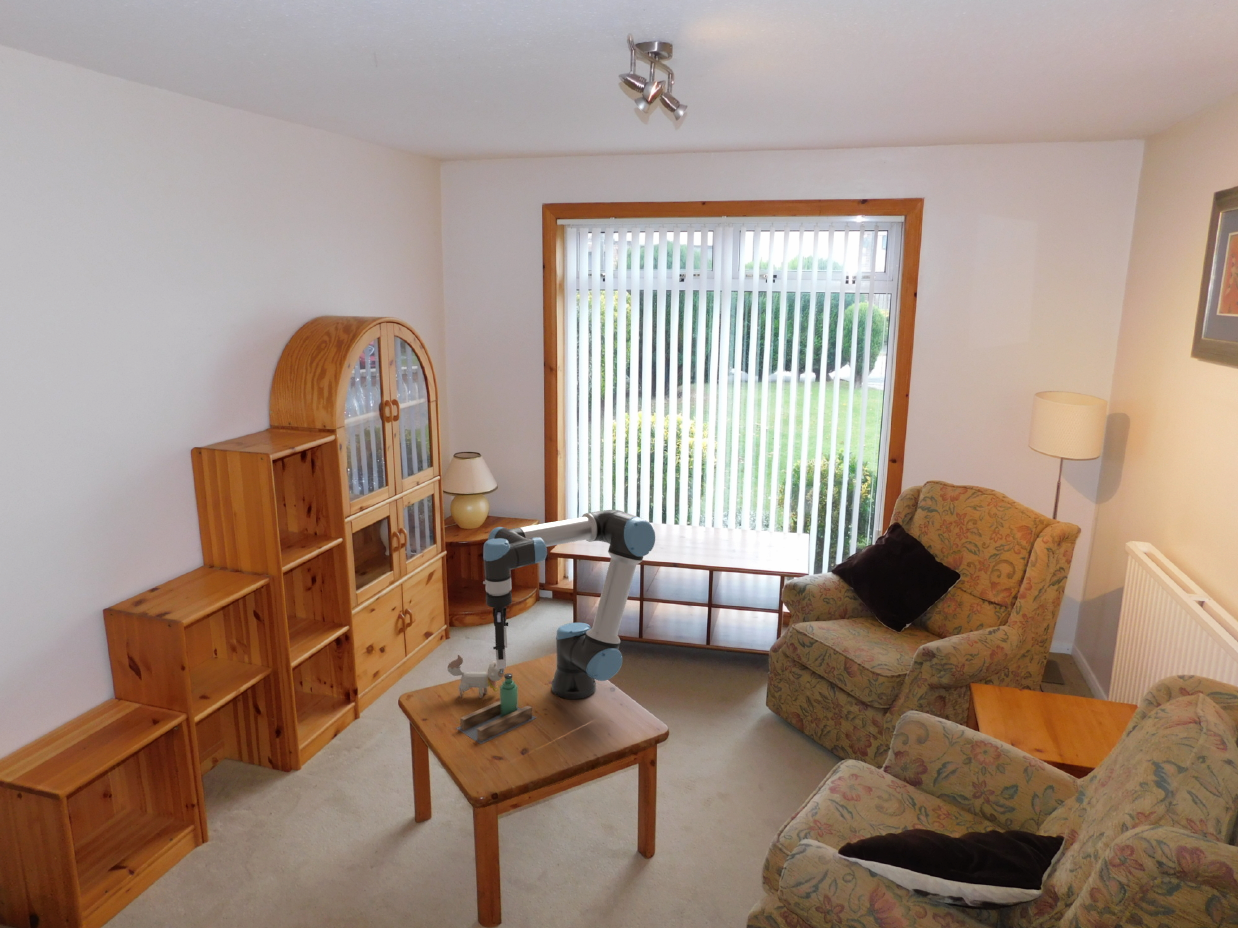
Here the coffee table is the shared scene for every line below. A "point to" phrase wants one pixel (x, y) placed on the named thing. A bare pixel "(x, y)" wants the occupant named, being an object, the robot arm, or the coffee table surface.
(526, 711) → the rest
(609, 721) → the coffee table surface
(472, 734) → the mat
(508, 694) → the bottle
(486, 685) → the toy
